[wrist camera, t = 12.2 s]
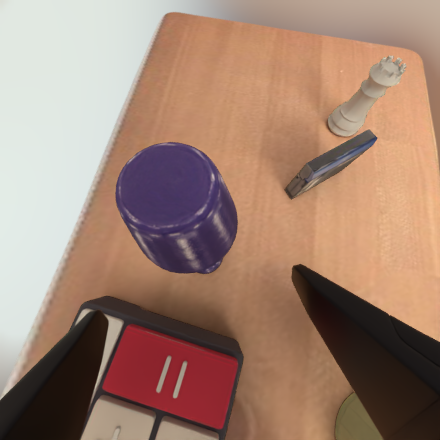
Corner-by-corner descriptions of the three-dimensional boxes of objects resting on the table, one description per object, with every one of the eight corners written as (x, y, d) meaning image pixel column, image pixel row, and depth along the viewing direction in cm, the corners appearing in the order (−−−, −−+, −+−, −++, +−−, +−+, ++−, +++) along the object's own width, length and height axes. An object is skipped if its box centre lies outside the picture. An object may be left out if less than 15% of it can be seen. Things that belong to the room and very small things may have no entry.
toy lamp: (179, 240, 21) (60, 145, 5) (215, 225, 22) (212, 97, 6) (194, 279, 20) (99, 319, 4) (232, 262, 21) (287, 235, 4)
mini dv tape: (291, 199, 23) (316, 175, 17) (284, 190, 23) (306, 163, 17) (340, 171, 24) (380, 139, 18) (333, 162, 24) (369, 128, 18)
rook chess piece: (339, 143, 25) (394, 87, 17) (319, 121, 26) (362, 58, 18) (363, 130, 26) (425, 70, 18) (342, 108, 27) (393, 43, 19)
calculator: (204, 542, 12) (-5, 469, 12) (205, 471, 16) (49, 418, 16) (247, 358, 15) (76, 301, 15) (238, 338, 19) (104, 294, 19)
